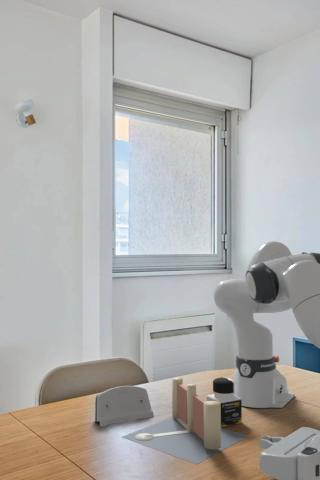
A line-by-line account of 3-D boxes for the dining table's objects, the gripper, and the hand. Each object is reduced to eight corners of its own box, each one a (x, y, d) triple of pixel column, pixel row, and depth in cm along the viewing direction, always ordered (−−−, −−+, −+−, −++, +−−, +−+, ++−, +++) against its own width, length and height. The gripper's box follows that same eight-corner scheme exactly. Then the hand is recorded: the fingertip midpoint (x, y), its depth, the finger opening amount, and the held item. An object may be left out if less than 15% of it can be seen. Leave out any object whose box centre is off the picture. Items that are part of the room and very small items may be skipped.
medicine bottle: (220, 428, 128) (220, 383, 129) (206, 420, 135) (206, 377, 135) (242, 424, 131) (241, 380, 132) (227, 416, 138) (226, 374, 138)
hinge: (99, 427, 130) (95, 389, 133) (94, 427, 134) (91, 390, 137) (155, 417, 137) (150, 381, 140) (149, 418, 141) (144, 383, 144)
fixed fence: (170, 416, 137) (170, 374, 137) (180, 415, 138) (180, 373, 138) (188, 433, 124) (187, 386, 124) (198, 431, 125) (198, 385, 125)
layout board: (176, 416, 138) (176, 414, 138) (248, 437, 122) (248, 435, 122) (121, 438, 122) (121, 436, 122) (196, 466, 106) (196, 463, 106)
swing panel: (188, 431, 123) (187, 392, 123) (202, 429, 124) (202, 390, 124) (208, 450, 111) (207, 406, 111) (223, 448, 112) (223, 405, 112)
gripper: (343, 428, 103) (284, 414, 112) (301, 459, 88) (237, 440, 97) (344, 458, 103) (285, 441, 112) (302, 494, 88) (237, 471, 97)
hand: (262, 441), depth 104 cm, fingers closed
